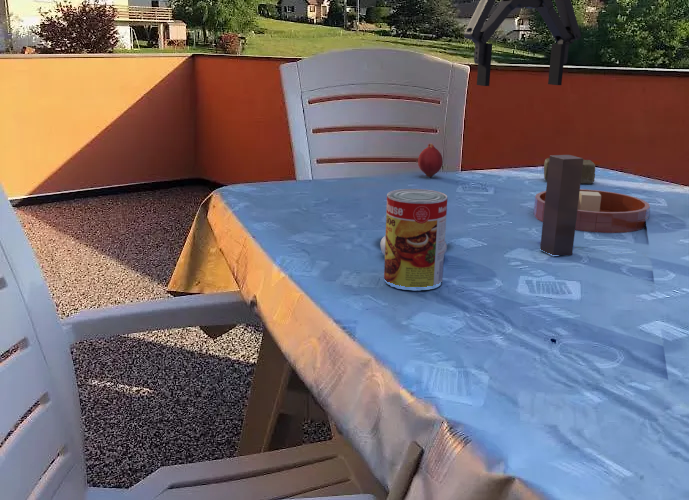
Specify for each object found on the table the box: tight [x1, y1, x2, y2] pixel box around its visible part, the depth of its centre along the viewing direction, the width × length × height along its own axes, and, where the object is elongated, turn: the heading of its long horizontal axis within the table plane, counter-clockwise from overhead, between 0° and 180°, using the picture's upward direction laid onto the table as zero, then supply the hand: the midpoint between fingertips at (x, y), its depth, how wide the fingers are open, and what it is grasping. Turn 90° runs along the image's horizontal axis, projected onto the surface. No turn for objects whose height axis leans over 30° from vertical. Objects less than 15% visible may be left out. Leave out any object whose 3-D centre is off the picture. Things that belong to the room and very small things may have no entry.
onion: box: [417, 142, 444, 178], centre depth 167 cm, size 6×6×8 cm
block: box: [578, 191, 601, 212], centre depth 134 cm, size 4×4×4 cm
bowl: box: [533, 188, 651, 234], centre depth 129 cm, size 20×20×4 cm
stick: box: [539, 154, 584, 256], centre depth 108 cm, size 4×4×15 cm
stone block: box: [543, 157, 596, 185], centre depth 165 cm, size 6×12×5 cm, turn 80°
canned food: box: [383, 188, 448, 287], centre depth 94 cm, size 8×8×12 cm
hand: (519, 85), depth 116 cm, fingers open, 13 cm apart
